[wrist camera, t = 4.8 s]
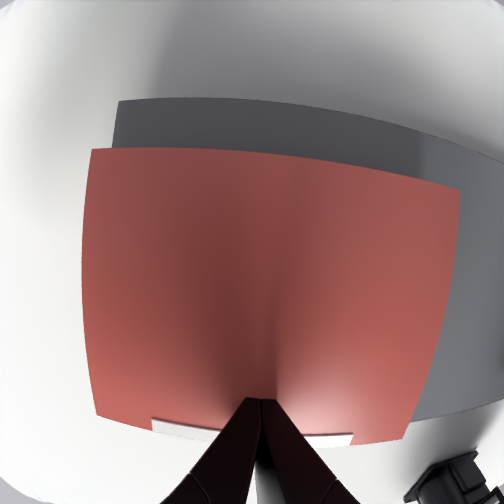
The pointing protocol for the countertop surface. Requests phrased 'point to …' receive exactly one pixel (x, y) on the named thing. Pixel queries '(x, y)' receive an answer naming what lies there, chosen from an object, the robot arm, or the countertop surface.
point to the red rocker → (262, 290)
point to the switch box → (384, 159)
